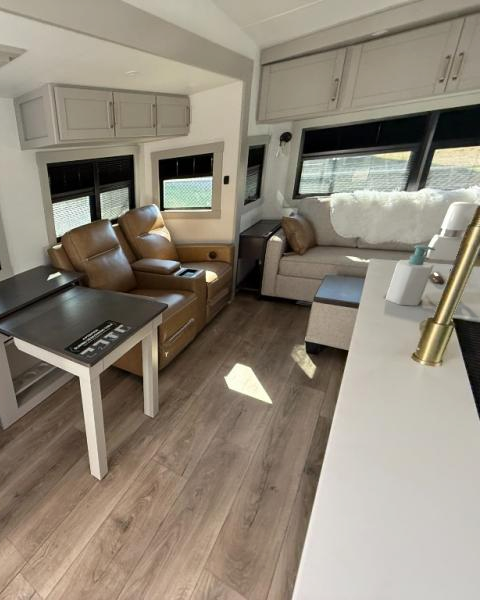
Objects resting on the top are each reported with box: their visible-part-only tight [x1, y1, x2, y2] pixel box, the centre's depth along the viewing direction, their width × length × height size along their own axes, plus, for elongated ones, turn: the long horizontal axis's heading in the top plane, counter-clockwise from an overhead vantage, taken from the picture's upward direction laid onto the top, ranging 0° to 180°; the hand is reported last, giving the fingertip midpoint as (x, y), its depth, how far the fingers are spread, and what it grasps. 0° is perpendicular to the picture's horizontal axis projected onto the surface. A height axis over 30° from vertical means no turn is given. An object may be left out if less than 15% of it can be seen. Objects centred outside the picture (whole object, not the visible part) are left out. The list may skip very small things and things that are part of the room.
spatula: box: [429, 272, 445, 285], centre depth 140 cm, size 18×6×3 cm, turn 146°
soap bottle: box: [385, 244, 435, 307], centre depth 120 cm, size 10×9×22 cm
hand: (435, 272), depth 138 cm, fingers open, 9 cm apart
